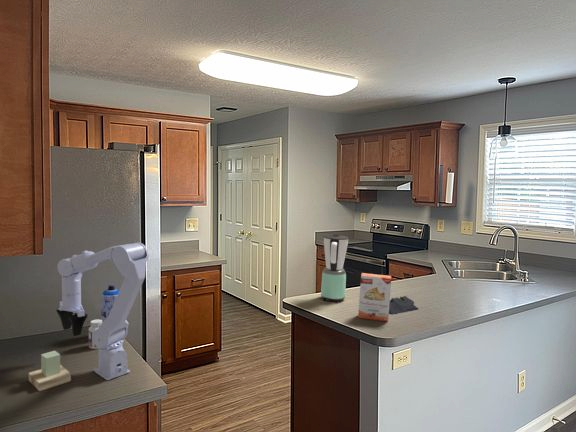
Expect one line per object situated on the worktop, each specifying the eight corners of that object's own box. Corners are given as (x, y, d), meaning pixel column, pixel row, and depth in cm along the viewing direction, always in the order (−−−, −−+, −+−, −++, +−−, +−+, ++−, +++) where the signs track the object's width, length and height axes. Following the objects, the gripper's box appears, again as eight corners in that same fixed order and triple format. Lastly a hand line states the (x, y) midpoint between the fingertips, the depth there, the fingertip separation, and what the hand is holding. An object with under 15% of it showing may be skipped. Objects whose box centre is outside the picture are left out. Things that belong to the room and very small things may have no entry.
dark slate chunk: (369, 307, 222) (370, 298, 222) (399, 301, 234) (399, 293, 234) (391, 316, 210) (392, 306, 209) (421, 309, 221) (422, 300, 221)
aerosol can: (97, 334, 171) (97, 285, 169) (117, 329, 177) (117, 282, 175) (105, 340, 166) (105, 289, 163) (125, 335, 171) (125, 286, 169)
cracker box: (357, 318, 203) (360, 275, 201) (358, 314, 209) (361, 272, 206) (388, 322, 200) (391, 278, 197) (388, 318, 205) (391, 275, 203)
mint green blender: (322, 293, 241) (325, 232, 238) (346, 296, 239) (349, 233, 235) (318, 303, 223) (321, 237, 219) (344, 306, 220) (347, 239, 217)
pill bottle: (106, 343, 163) (106, 318, 162) (101, 349, 157) (101, 323, 156) (92, 343, 162) (92, 318, 161) (86, 349, 157) (85, 323, 156)
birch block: (70, 382, 134) (70, 373, 134) (39, 392, 127) (39, 383, 127) (59, 372, 140) (59, 363, 140) (28, 381, 133) (28, 372, 133)
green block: (60, 373, 134) (60, 354, 133) (46, 377, 131) (46, 358, 130) (55, 368, 136) (54, 350, 136) (41, 372, 133) (41, 354, 132)
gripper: (50, 290, 146) (50, 329, 147) (68, 300, 137) (69, 341, 138) (71, 286, 151) (71, 324, 153) (90, 295, 142) (91, 335, 144)
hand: (72, 331), depth 146 cm, fingers open, 7 cm apart
